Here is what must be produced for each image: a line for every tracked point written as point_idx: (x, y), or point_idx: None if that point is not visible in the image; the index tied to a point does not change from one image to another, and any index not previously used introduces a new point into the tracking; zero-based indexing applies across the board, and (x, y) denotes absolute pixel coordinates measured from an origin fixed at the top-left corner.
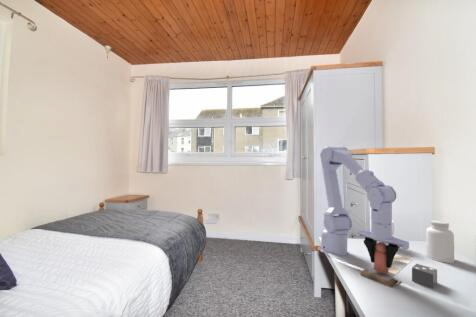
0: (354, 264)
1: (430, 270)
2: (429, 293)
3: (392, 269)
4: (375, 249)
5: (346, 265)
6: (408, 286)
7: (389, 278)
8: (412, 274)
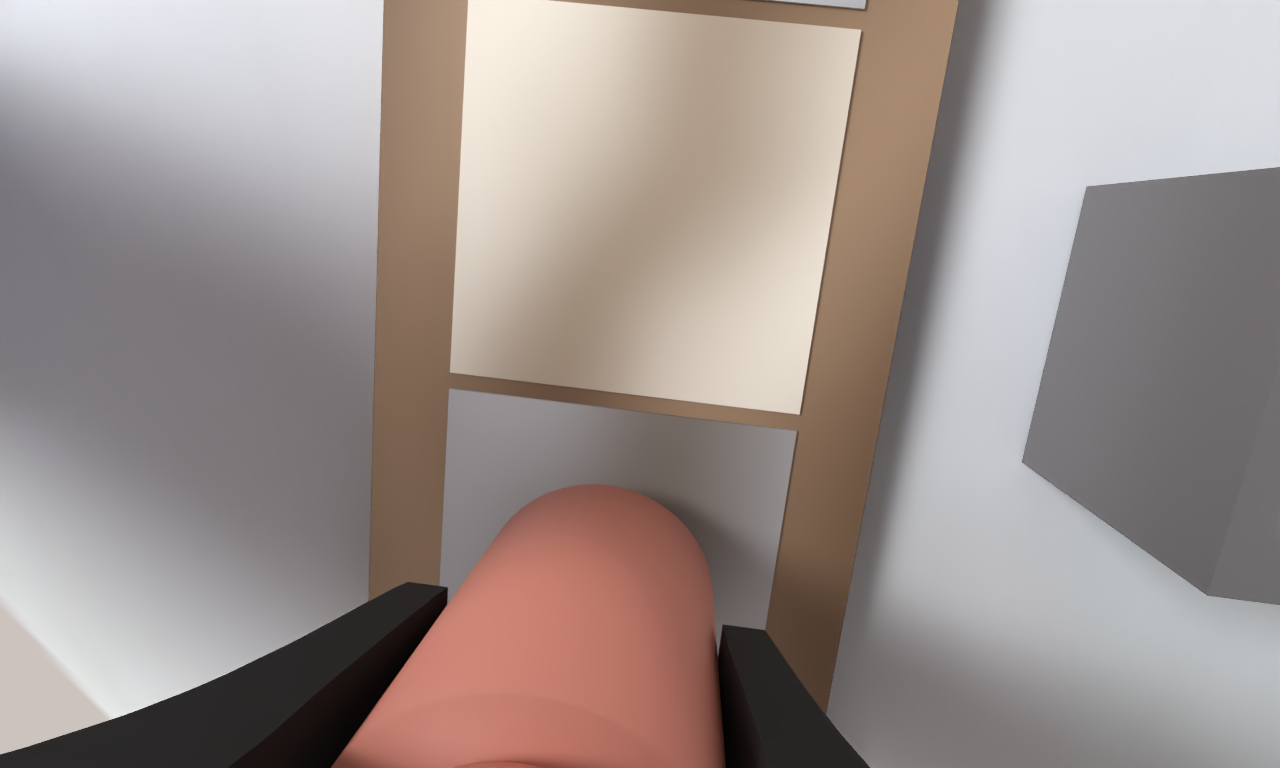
0: (158, 387)
1: None
2: None
3: (715, 227)
4: (290, 755)
5: (102, 526)
6: (979, 571)
7: None
8: (1122, 526)
